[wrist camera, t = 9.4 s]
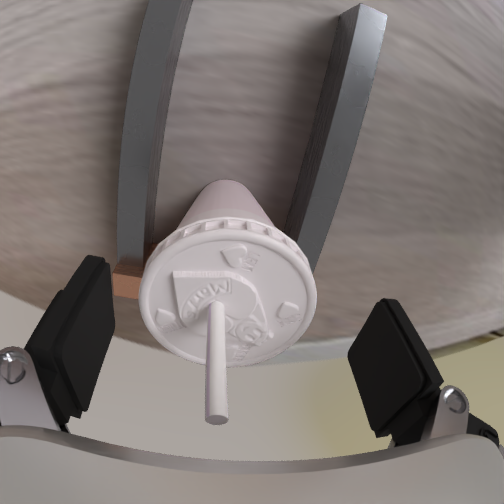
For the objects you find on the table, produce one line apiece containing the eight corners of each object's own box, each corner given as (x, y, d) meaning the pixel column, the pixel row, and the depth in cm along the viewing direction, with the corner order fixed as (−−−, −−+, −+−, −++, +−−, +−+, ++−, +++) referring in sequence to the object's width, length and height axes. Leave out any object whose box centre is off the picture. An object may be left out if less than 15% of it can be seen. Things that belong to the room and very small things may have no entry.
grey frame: (364, 23, 13) (397, 12, 9) (290, 281, 22) (302, 318, 18) (171, -20, 11) (158, -46, 7) (129, 259, 20) (113, 295, 16)
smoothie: (225, 135, 16) (231, 277, 4) (297, 208, 19) (397, 402, 7) (153, 209, 18) (68, 412, 6) (226, 269, 21) (235, 475, 9)
